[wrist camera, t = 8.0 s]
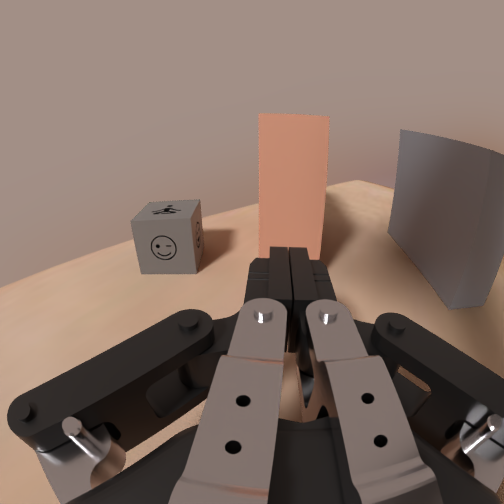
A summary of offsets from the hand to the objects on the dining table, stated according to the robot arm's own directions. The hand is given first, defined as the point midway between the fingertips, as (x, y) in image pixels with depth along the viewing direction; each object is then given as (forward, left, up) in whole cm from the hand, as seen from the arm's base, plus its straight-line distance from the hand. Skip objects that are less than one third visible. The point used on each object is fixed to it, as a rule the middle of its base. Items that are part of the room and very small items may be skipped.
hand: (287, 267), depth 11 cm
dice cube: (+6, -13, -6) cm, 16 cm away
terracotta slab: (-5, -15, -6) cm, 17 cm away
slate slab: (-18, -7, -6) cm, 21 cm away
